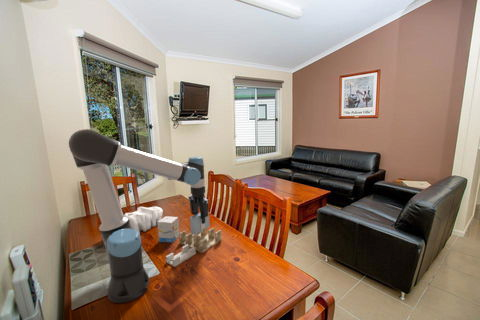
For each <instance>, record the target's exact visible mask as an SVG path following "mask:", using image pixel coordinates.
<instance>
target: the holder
mask: <svg viewBox="0 0 480 320" xmlns="http://www.w3.org/2000/svg"><path fill="white" fill-rule="evenodd" d="M196 252H197V251H196V250H195V247H192V248H189V245H188V244H187V245H185V246H184V245H183V246H182V247H181V251H180V252H179V253H176V254H175V255H174V253H173V252H171V253H169V254H168V255H166V256H165V263H167V264H169V265H170V266H173V267H174V268H176V267H177V266H179V265H180V264H182V263H183V262H185V261H186V260H188V259H190V258H191V257H193V256H194V255H197V253H196Z"/></svg>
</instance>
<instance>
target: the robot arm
mask: <svg viewBox="0 0 480 320" xmlns="http://www.w3.org/2000/svg"><path fill="white" fill-rule="evenodd" d="M68 148H69V151H70V152H71V154H72V157H73V160H74V162H75V165H76V167H77V169H80V170H82V171H83V174H84V177H85V180H86V182H87V186H88V189H89V191H90V194H91V197H92V200H93V202H94V206H95V207H96V211H97V213H98V217H99V219H100V222H101V224H100V225H99V227H98V230H99V232H100V235H101V238H102V242H103V244H104V247H105V250H106V252H107V257H108V263H109V264H108V265H109V271H110V272H109V273H110V279H109V282H108V287H107V297H108V300H109V301H110V302H112V303H115V304H122V303H128V302H131V301H134V300H137V299H138V298H140V297H141V296H142V295H144V294H145V293H146V292H147V291H148V286H149V285H150V276H149V275H148V273H147V271H146V269H145V268H144V261H143V250H142V237H141V233H140V234H139V232H138V231H136V230H134V229H132V227H131V224H130V221H129V218H128V217H127V216H125V215H124V212H123V209H122V206H121V203H120V200H119V197H118V194H117V191H116V187H115V184H114V182H113V178H112V175H111V172H110V169H109V167H112V166H113V165H117V166H120V167H124V168H128V169H132V170H136V171H140V172H142V173H146V174H149V175H154V176H158V177H163V178H166V179H168V181H169V180H170V181H172V180H173V181H177V182H181V183H185V184H186V185H189V186H190V194H191V195H190V196H188V201H189V207H190V213H191V215H192V216H194V215H196V214H198V213H200V215H201V217H200V229H201V230H202V229H204V228H205V217H207V216H208V212H209V202H210V200H209V198H208V199H207V198H206V196H205V195H206V186H205V183H206V181H205V164H204V158H203V157H201V156H191V157H188V161H187V162H186V161H185V162H177V161H174V160H173V161H172V160H171V159H167V158H164V157H161V156H157V155H155V154H151V153H149V152H144V151H141V150H139V149H135V148H133V147H129V146H126V145H123V144H121V142H120V141H119V140H116V139H114V138H110V137H108V136H106V135H105V134H102V133H101V132H99V131H96V130H92V129H89V128H88V129H80V130H77V131H75V132H74V133H72V135H70V138H69V139H68Z"/></svg>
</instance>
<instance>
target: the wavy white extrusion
mask: <svg viewBox="0 0 480 320" xmlns="http://www.w3.org/2000/svg"><path fill="white" fill-rule="evenodd" d="M136 209H137V210H135V211H133V212H125V213H123V215H125V216H127V217H128V218H129V221H130V224H131V227H132V229H134V230H136V231H138V232H139V234H140V235H141V231H143V232H147V231H148V230H151V229H152V227H153V228H154V227H156V226H158V221H160V220H161V219H162V218H163V212H164V210H163V208H162V207H161V206H160V207H159V206H150V207H145V206H138V207H137V208H136Z"/></svg>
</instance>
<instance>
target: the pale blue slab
mask: <svg viewBox="0 0 480 320" xmlns="http://www.w3.org/2000/svg"><path fill="white" fill-rule="evenodd" d="M200 217H201V215H200V212H198V214H196V215H192V216H190V217H189V224H190V225H189V226H190V233H191V234H192V235H193V234H194V235H196V234H197V233H199V232H201V231H203V230H205V229H207V230H208V229H209V228H210V211H208V216H207V217H205V228H204V229H202V230H201V229H200Z"/></svg>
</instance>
